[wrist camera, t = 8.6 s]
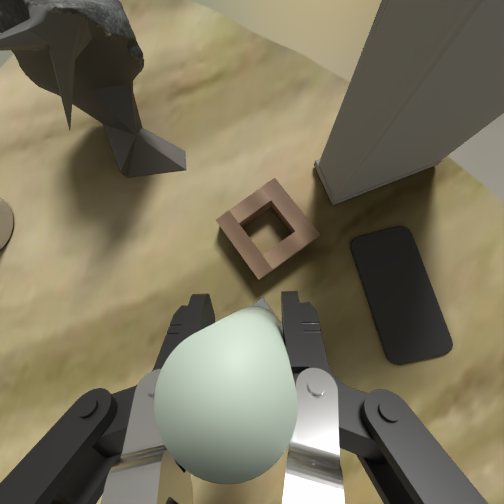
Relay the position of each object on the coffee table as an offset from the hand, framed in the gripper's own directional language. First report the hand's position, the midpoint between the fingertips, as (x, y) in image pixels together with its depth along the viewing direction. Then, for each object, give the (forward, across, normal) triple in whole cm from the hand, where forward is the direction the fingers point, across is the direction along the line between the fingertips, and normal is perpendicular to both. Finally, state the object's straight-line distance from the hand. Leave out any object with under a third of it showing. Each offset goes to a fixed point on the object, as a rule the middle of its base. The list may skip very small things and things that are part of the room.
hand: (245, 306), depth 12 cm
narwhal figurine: (+30, +17, -4) cm, 35 cm away
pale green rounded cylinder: (+2, 0, +5) cm, 5 cm away
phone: (+14, -16, +14) cm, 25 cm away
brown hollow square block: (+19, -1, +7) cm, 20 cm away
